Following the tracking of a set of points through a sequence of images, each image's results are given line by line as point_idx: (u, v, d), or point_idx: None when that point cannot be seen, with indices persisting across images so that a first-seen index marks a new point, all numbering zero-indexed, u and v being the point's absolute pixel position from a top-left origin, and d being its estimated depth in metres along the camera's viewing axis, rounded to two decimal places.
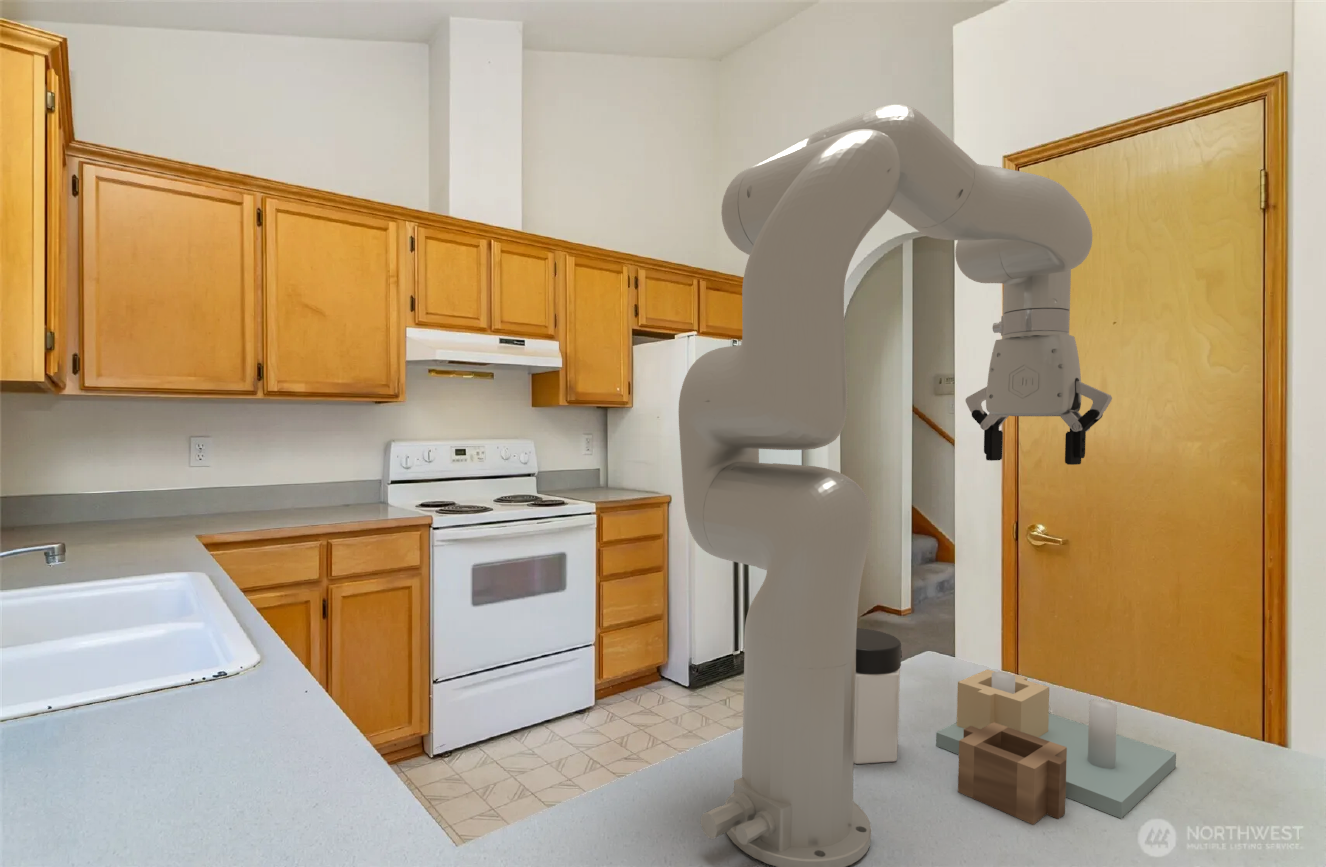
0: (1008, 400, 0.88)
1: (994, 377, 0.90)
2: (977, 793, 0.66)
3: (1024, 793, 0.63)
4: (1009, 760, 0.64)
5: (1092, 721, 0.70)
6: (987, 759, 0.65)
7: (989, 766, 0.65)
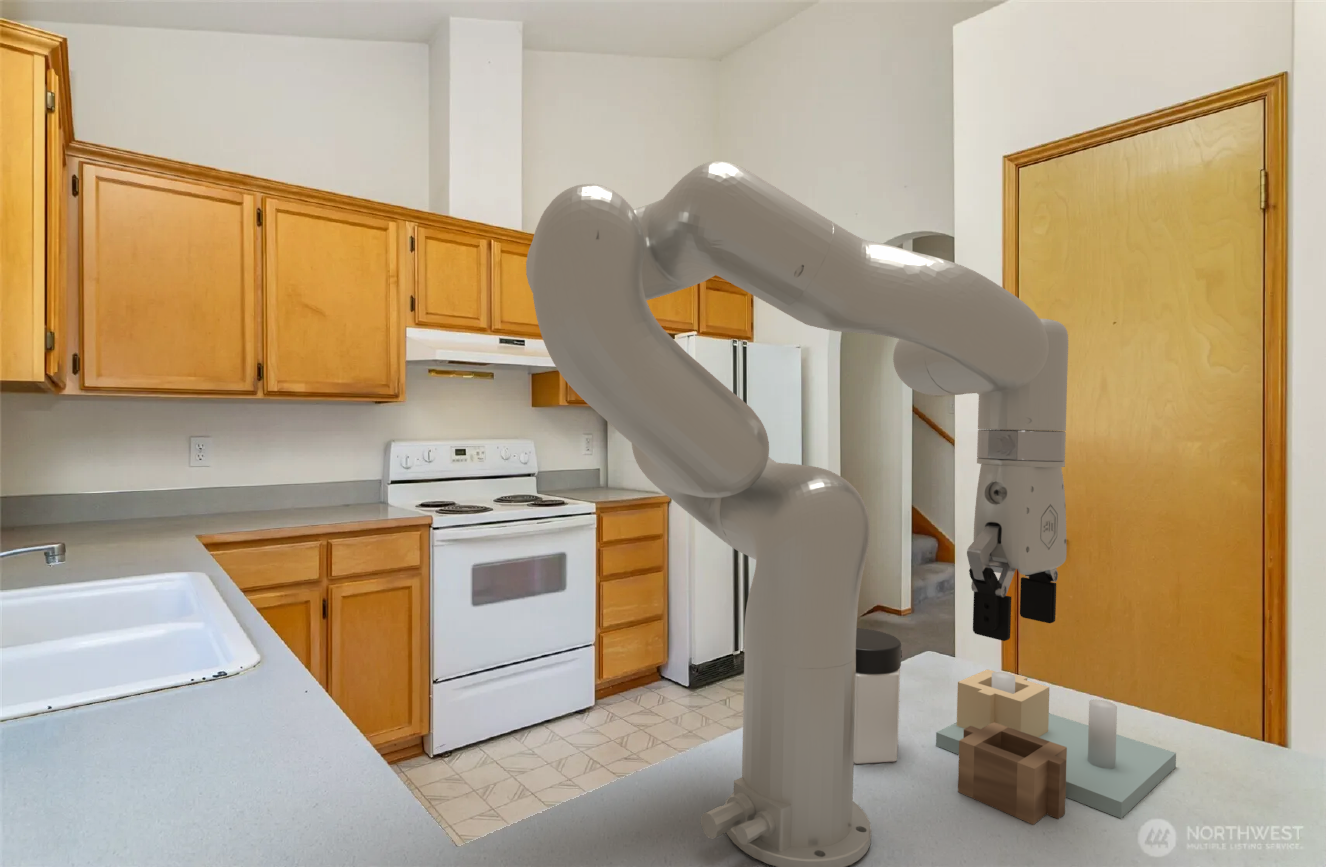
0: (1039, 553, 0.63)
1: (1029, 521, 0.62)
2: (977, 793, 0.66)
3: (1024, 793, 0.63)
4: (1009, 760, 0.64)
5: (1092, 721, 0.70)
6: (987, 759, 0.65)
7: (989, 766, 0.65)
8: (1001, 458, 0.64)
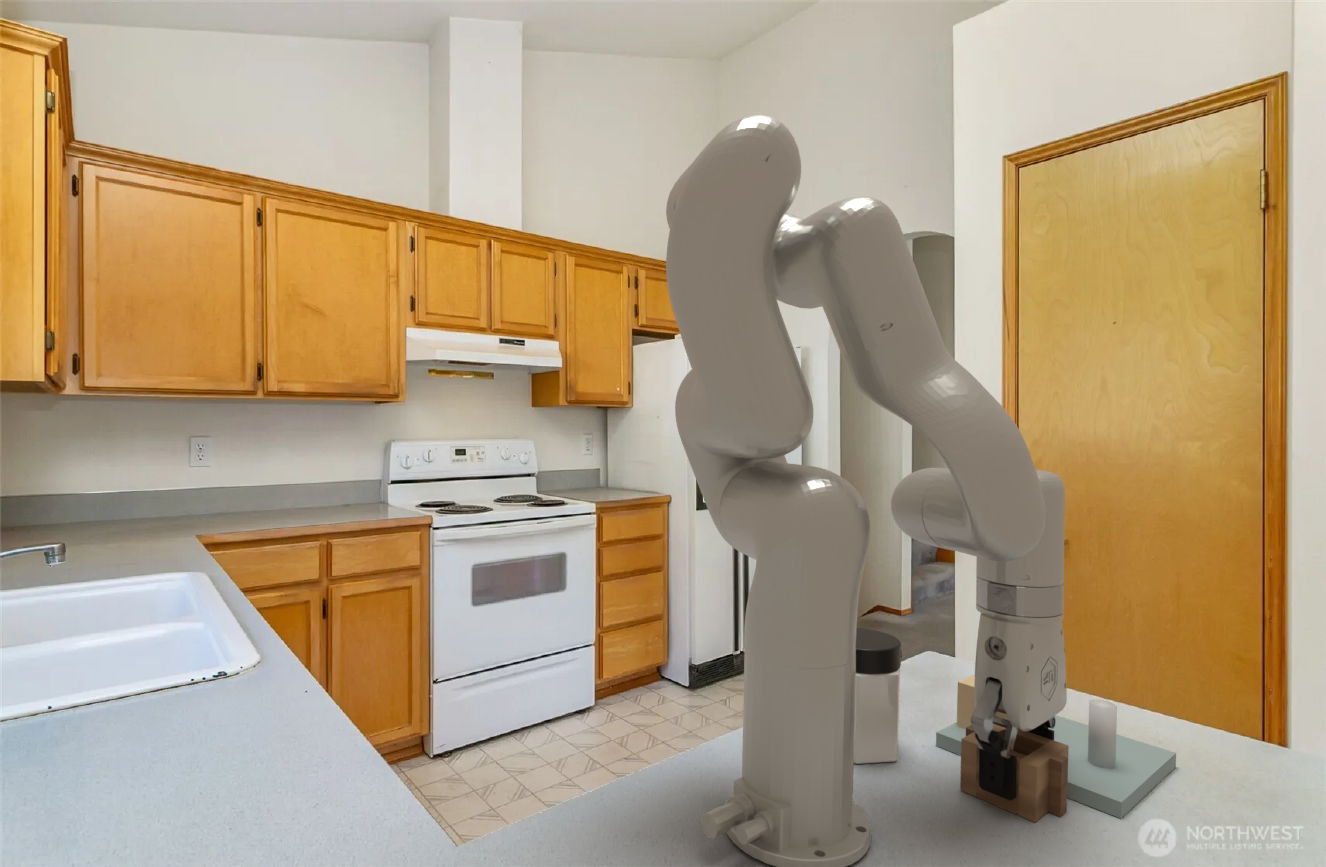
0: (1040, 707, 0.64)
1: (1029, 679, 0.63)
2: (979, 791, 0.66)
3: (1026, 791, 0.63)
4: None
5: (1092, 721, 0.70)
6: None
7: None
8: (1000, 612, 0.65)
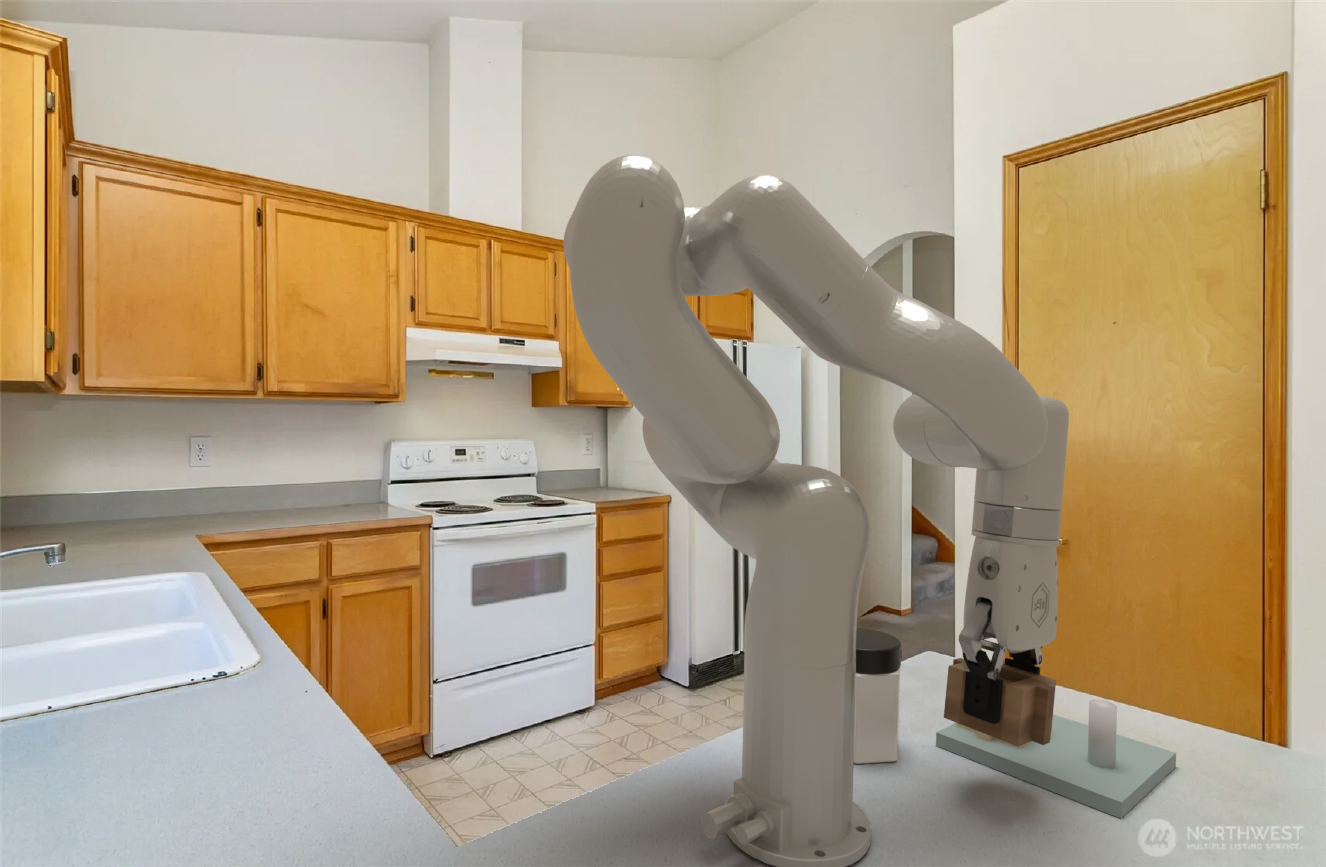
0: (1029, 631, 0.63)
1: (1020, 600, 0.62)
2: (963, 718, 0.66)
3: (1011, 715, 0.62)
4: None
5: (1092, 721, 0.70)
6: None
7: None
8: (995, 533, 0.64)
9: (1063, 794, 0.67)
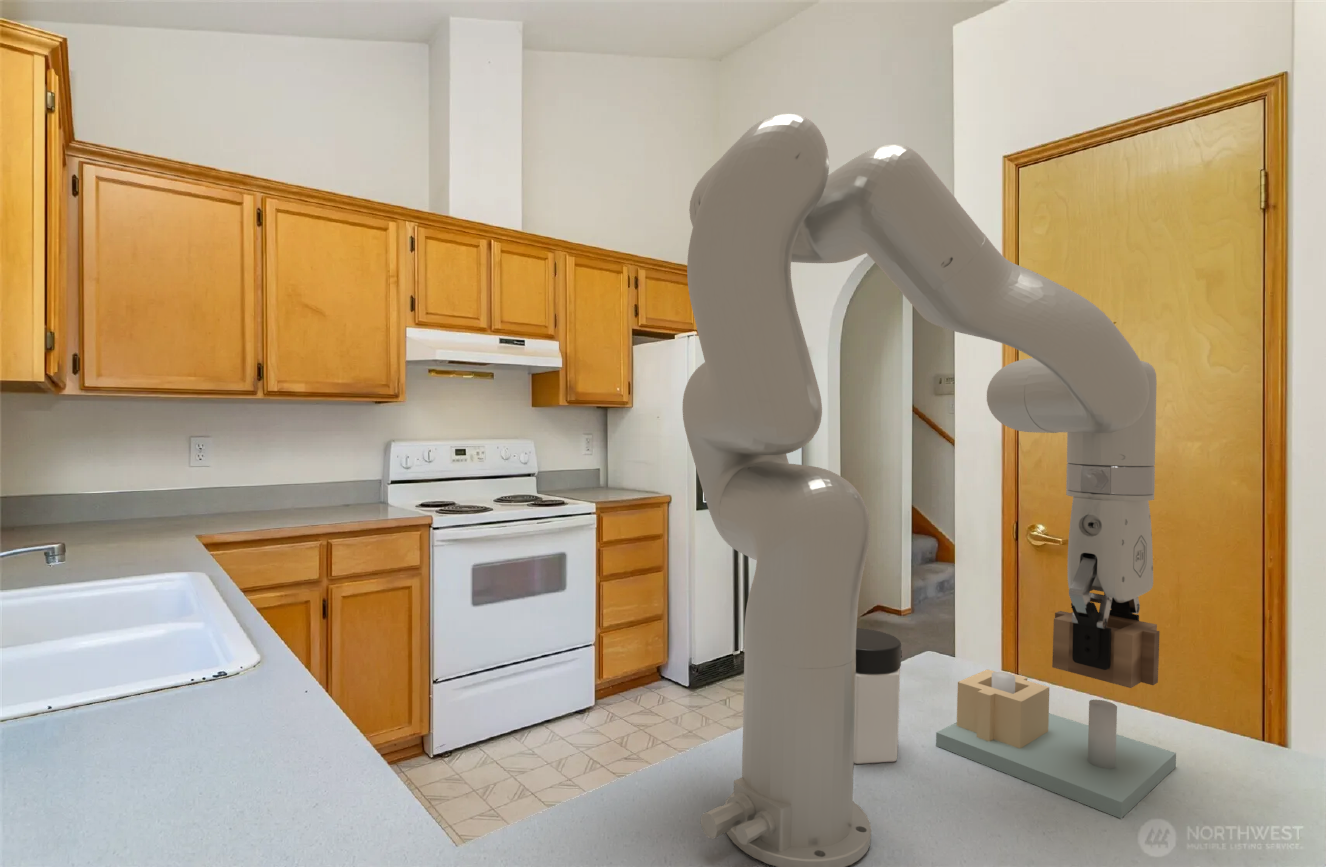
0: (1132, 582, 0.67)
1: (1124, 553, 0.66)
2: (1072, 666, 0.70)
3: (1121, 659, 0.66)
4: None
5: (1092, 721, 0.70)
6: None
7: None
8: (1094, 492, 0.68)
9: (1063, 794, 0.67)
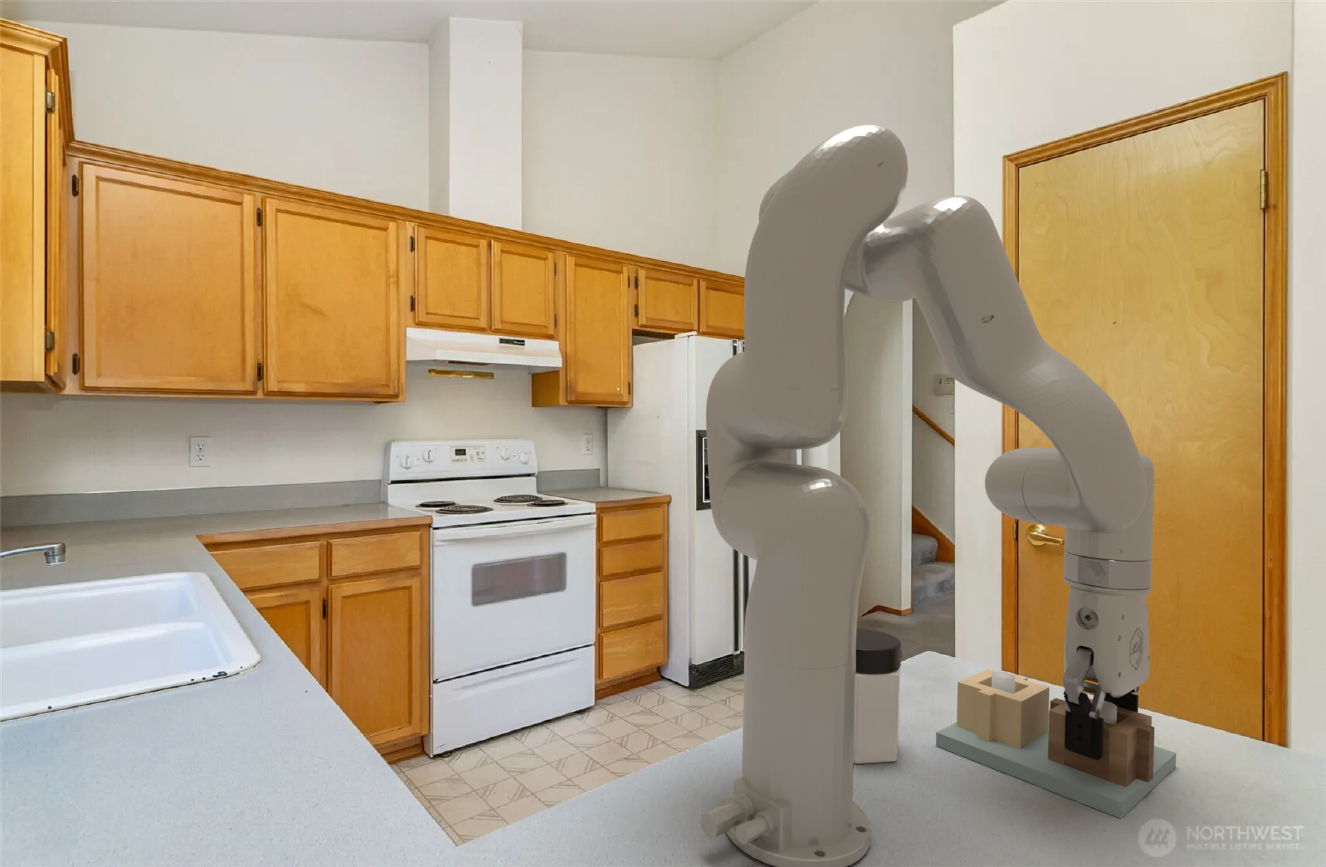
0: (1128, 675, 0.67)
1: (1121, 648, 0.66)
2: (1068, 759, 0.70)
3: (1117, 758, 0.67)
4: None
5: None
6: None
7: None
8: (1091, 584, 0.68)
9: (1063, 794, 0.67)
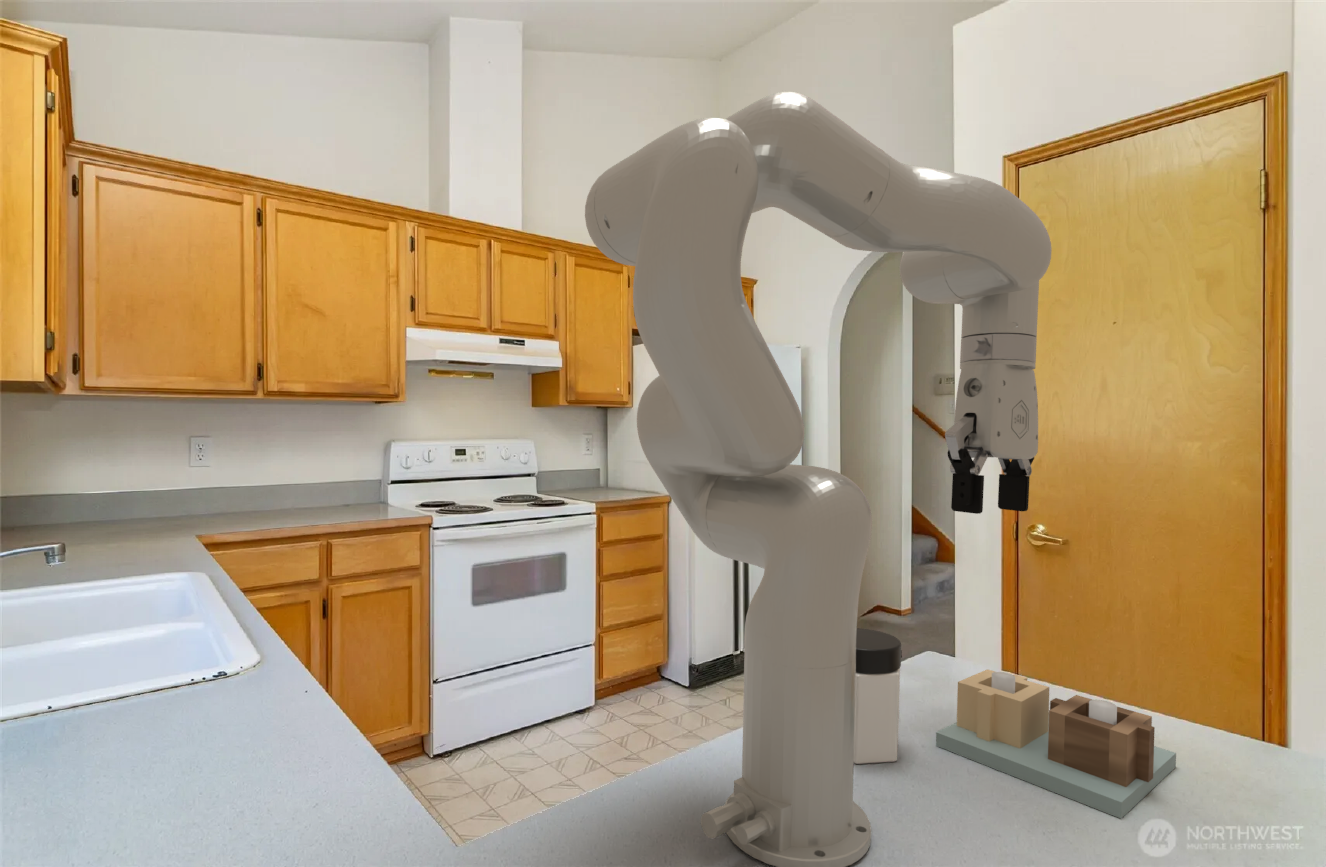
0: (1010, 440, 0.73)
1: (1001, 410, 0.72)
2: (1068, 759, 0.70)
3: (1117, 758, 0.67)
4: (1101, 727, 0.68)
5: None
6: (1078, 727, 0.69)
7: (1080, 734, 0.69)
8: (978, 358, 0.74)
9: (1063, 794, 0.67)
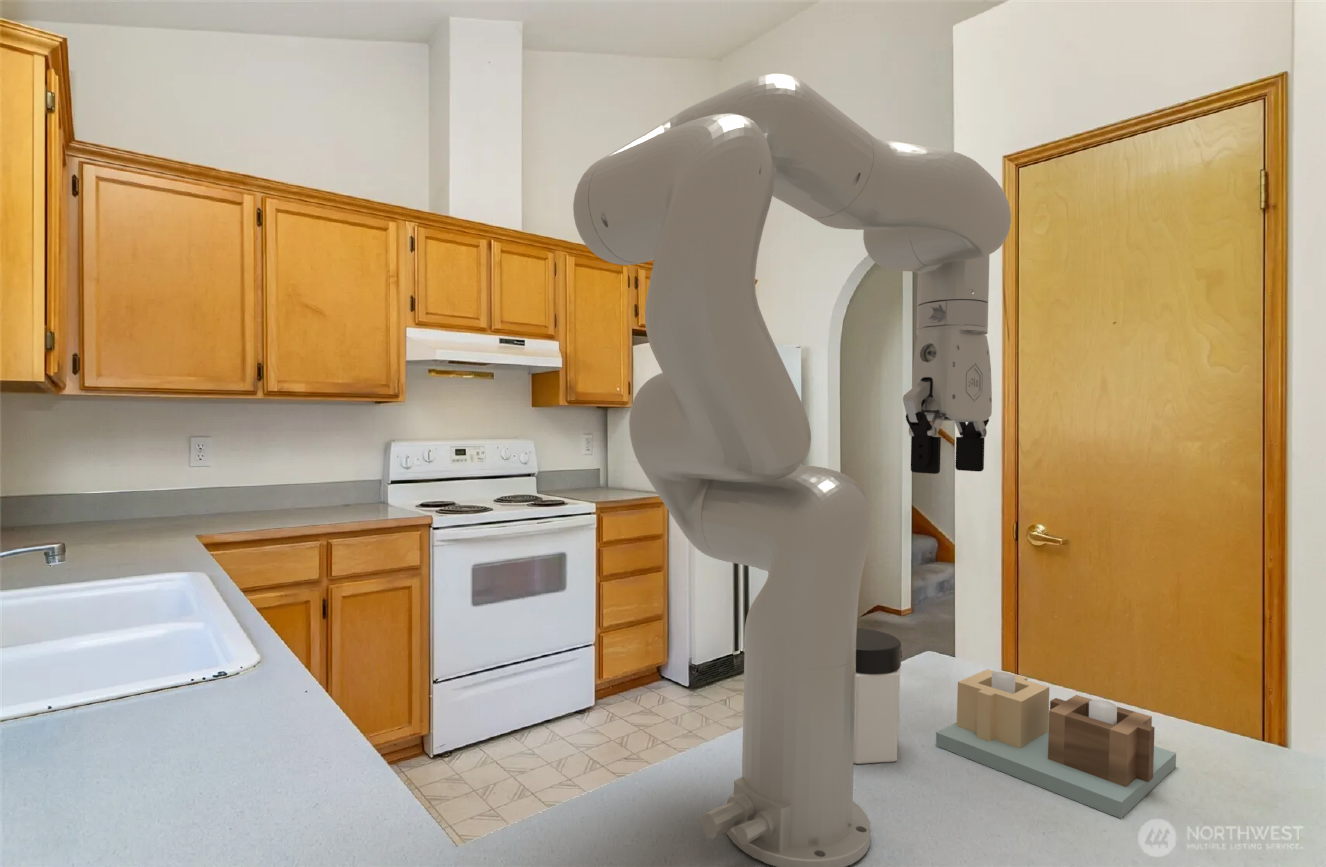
0: (964, 402, 0.76)
1: (955, 374, 0.75)
2: (1068, 759, 0.70)
3: (1117, 758, 0.67)
4: (1101, 727, 0.68)
5: None
6: (1078, 727, 0.69)
7: (1080, 734, 0.69)
8: (933, 325, 0.77)
9: (1063, 794, 0.67)
